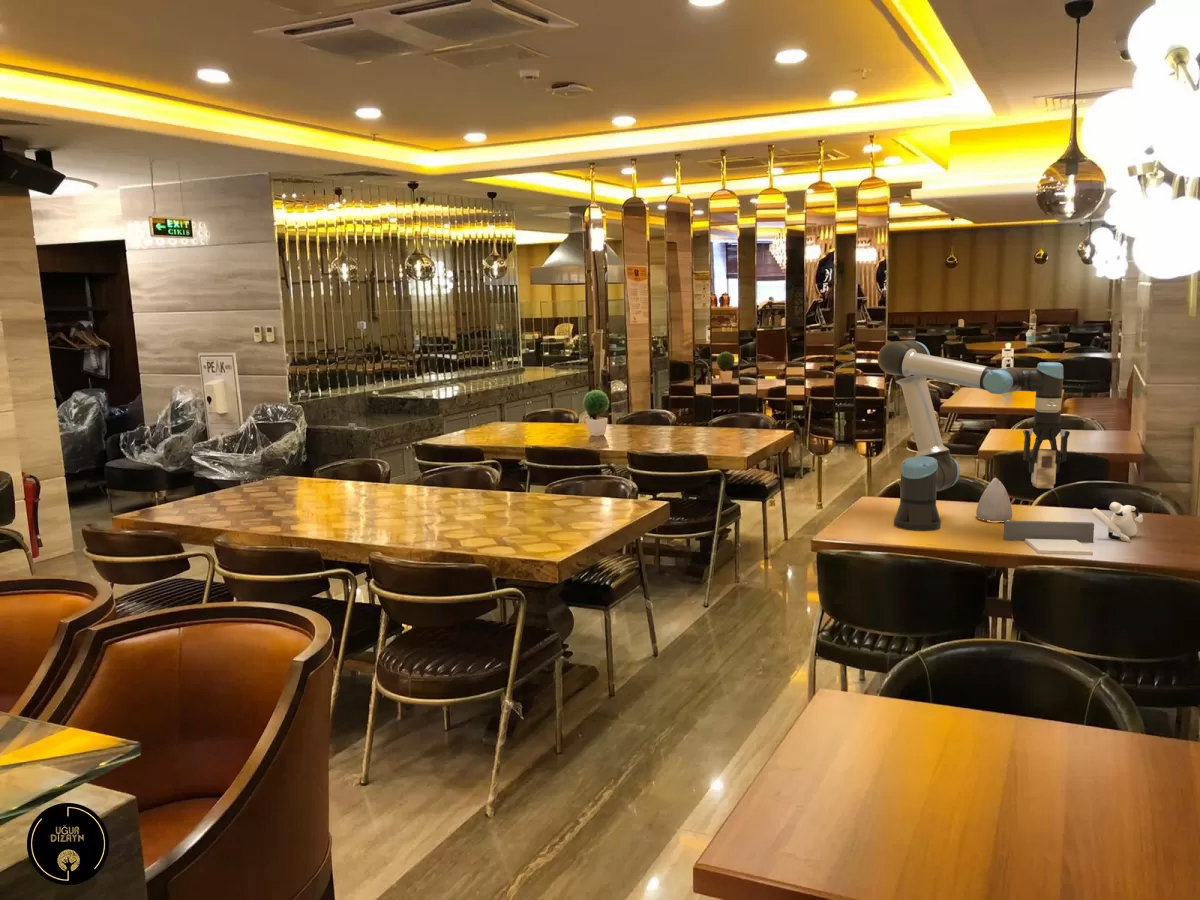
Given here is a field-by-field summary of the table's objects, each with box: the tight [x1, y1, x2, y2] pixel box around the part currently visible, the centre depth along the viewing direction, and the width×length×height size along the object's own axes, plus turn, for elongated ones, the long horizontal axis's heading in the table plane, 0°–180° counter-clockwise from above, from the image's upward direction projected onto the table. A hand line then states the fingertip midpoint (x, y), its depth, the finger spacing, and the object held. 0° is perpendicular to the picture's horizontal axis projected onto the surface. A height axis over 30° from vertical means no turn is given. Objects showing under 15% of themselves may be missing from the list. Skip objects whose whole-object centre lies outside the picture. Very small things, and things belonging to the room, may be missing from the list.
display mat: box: [1024, 539, 1094, 556], centre depth 279 cm, size 15×15×1 cm
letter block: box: [1031, 448, 1056, 489], centre depth 292 cm, size 5×5×12 cm
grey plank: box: [1003, 520, 1095, 543], centre depth 288 cm, size 26×2×6 cm, turn 80°
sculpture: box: [975, 477, 1013, 521], centre depth 319 cm, size 13×12×15 cm
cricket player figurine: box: [1090, 501, 1144, 542], centre depth 288 cm, size 13×10×15 cm
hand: (1043, 482), depth 293 cm, fingers closed on letter block, 5 cm apart
